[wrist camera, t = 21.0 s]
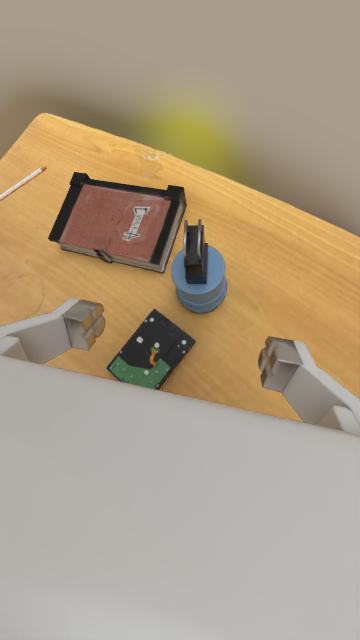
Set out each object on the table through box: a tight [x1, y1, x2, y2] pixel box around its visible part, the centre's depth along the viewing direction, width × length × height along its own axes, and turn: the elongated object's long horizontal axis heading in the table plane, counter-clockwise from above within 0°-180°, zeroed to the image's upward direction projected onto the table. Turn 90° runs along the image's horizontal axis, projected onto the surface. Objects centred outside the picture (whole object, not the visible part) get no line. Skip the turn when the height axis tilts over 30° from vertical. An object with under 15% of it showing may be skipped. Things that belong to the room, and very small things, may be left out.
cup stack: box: [171, 245, 227, 313], centre depth 37 cm, size 10×10×11 cm
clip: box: [183, 219, 208, 284], centre depth 27 cm, size 5×3×8 cm, turn 177°
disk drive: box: [106, 309, 195, 390], centre depth 40 cm, size 10×3×15 cm
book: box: [48, 172, 187, 273], centre depth 45 cm, size 26×18×5 cm
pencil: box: [0, 166, 46, 200], centre depth 56 cm, size 1×19×1 cm, turn 122°
